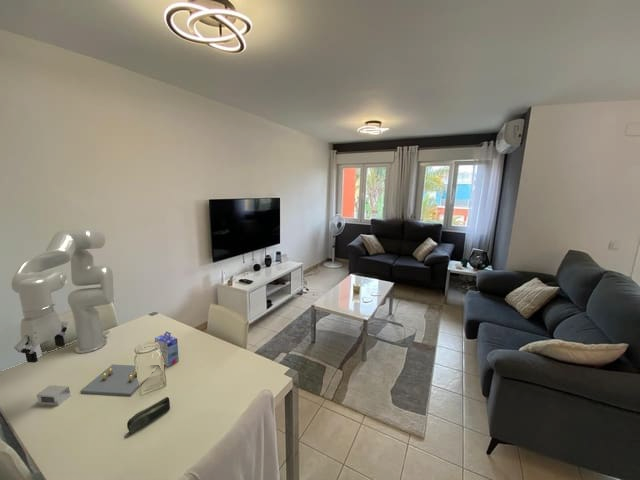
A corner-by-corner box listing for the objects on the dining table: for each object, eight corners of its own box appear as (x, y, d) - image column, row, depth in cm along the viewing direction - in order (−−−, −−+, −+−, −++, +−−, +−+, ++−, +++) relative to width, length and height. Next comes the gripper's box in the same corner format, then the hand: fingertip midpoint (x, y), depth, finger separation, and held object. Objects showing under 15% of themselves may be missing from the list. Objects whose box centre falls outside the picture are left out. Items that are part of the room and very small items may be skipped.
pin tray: (113, 366, 121) (111, 358, 120) (156, 369, 120) (156, 361, 120) (80, 393, 106) (79, 384, 105) (130, 396, 105) (129, 387, 104)
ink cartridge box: (179, 360, 127) (177, 333, 124) (169, 367, 122) (166, 339, 119) (166, 354, 131) (164, 328, 128) (155, 360, 126) (153, 333, 123)
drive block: (51, 395, 104) (49, 385, 103) (70, 396, 104) (68, 386, 103) (38, 404, 100) (36, 394, 99) (58, 406, 99) (56, 395, 98)
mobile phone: (166, 394, 100) (120, 422, 88) (170, 398, 99) (124, 426, 86) (167, 405, 101) (122, 434, 89) (171, 409, 100) (126, 439, 87)
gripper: (53, 300, 103) (60, 339, 106) (-1, 322, 86) (9, 368, 89) (72, 301, 103) (78, 340, 106) (21, 323, 86) (30, 369, 89)
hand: (47, 353), depth 98 cm, fingers open, 9 cm apart
